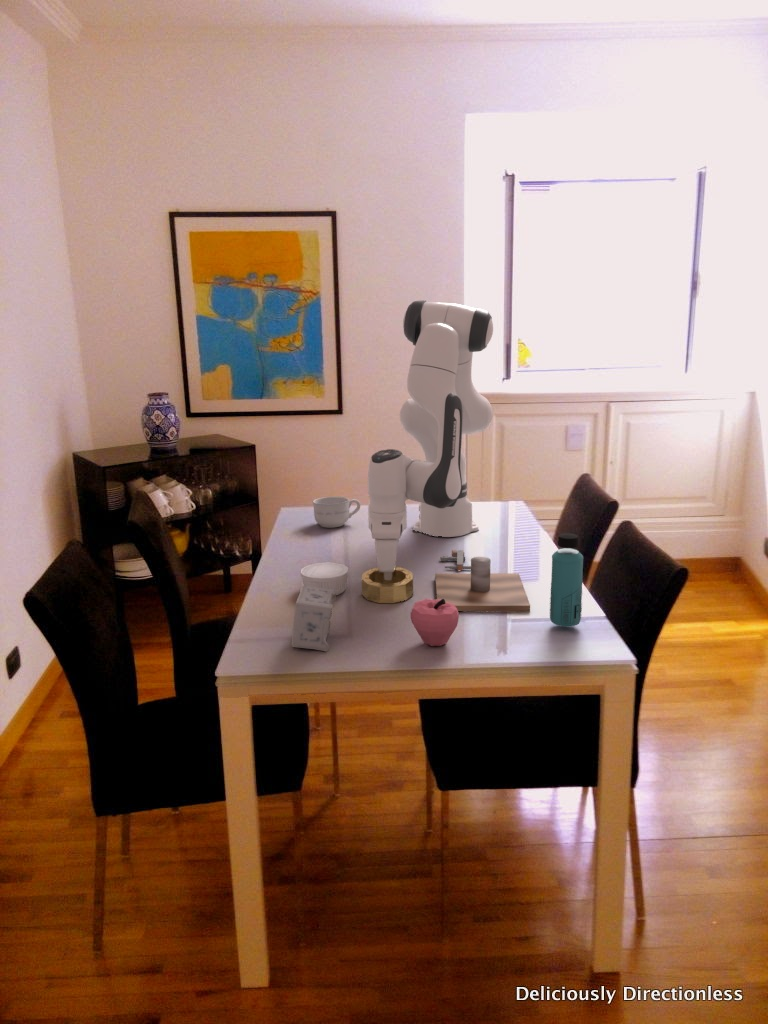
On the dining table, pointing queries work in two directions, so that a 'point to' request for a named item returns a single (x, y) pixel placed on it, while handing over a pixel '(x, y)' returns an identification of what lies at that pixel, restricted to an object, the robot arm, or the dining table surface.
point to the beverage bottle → (566, 582)
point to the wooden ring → (387, 586)
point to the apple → (434, 620)
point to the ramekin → (325, 576)
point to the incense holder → (312, 618)
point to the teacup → (333, 511)
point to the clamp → (456, 556)
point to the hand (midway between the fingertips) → (388, 576)
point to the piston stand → (483, 589)
